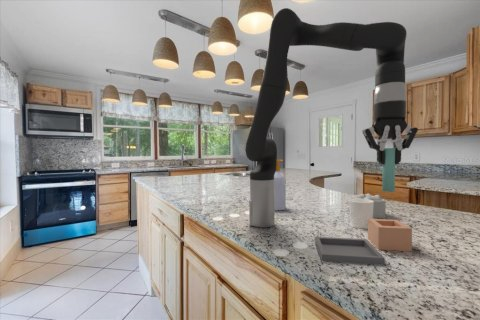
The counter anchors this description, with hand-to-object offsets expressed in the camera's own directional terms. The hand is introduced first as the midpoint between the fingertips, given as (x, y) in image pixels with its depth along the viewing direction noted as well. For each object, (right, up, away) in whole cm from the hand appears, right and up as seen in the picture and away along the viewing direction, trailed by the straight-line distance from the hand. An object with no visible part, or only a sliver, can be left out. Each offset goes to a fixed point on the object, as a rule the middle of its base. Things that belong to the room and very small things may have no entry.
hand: (388, 163), depth 66 cm
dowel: (0, -8, 0) cm, 8 cm away
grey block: (+14, -23, +36) cm, 45 cm away
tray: (-14, -24, -4) cm, 28 cm away
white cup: (+1, -23, +18) cm, 30 cm away
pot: (0, -24, +1) cm, 24 cm away
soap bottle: (-24, -23, +48) cm, 58 cm away
